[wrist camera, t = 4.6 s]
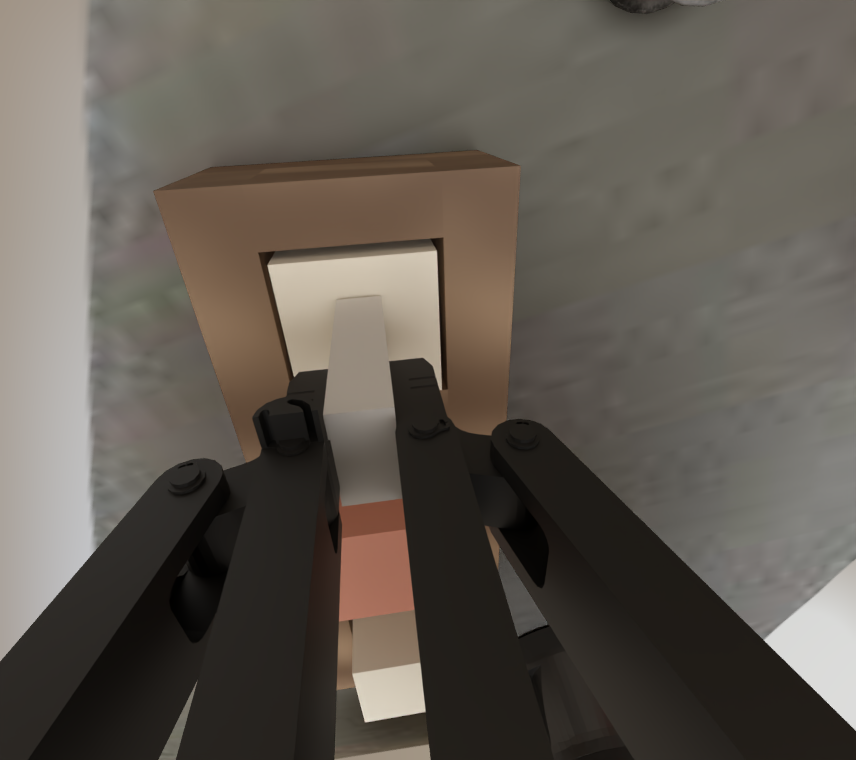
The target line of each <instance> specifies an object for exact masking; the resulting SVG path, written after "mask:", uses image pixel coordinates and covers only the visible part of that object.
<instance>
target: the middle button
mask: <svg viewBox="0 0 856 760" xmlns="http://www.w3.org/2000/svg"><path fill="white" fill-rule="evenodd" d="M339 512H340V516H341V521H342V545H341V575H340V605H339V621H346V620H352V619H359V618H365V617H372V616H378V615H385V614H391V613H398V612H404V611H411V610H414V601H413V592H412V583H411V574H410V564H409V555H408V546H407V537H406V528H405V518H404V509H403V500H402V499H395V500H388V501H380V502H373V503H365V504H357V505H350V506H342V503H341V499H340V498H339Z"/></svg>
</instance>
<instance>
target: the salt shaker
mask: <svg viewBox="0 0 856 760" xmlns="http://www.w3.org/2000/svg"><path fill="white" fill-rule="evenodd" d="M610 1H611V2H612V3H613V4H614V5H615V6H617V7H619V8H621V9H623V10H626V11H628V12H630V13H651V12H654V11H657V10H661V9H664V8H667V7H668V6H670V5H672V4H673V3H678V4H680V5H682V6H707V5H710V4H714V3H717V2H720V1H724V0H610Z"/></svg>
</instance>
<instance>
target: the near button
mask: <svg viewBox="0 0 856 760" xmlns="http://www.w3.org/2000/svg"><path fill="white" fill-rule="evenodd" d="M267 266H268V270H269V274H270V278H271V282H272V287H273V291H274V295H275V299H276V303H277V308H278V312H279V316H280V320H281V324H282V329H283V333H284V337H285V341H286V346H287V350H288V354H289V358H290V362H291V367H292V371H293V375H294V377H295V376H296V375H297V374H298V373H299V372H303V371H313V370H322V369H328V366H329V357H330V348H331V340H332V331H333V322H334V313H335V304H336V300H340V299H351V298H362V297H372V296H381V300H382V308H383V316H384V325H385V333H386V341H387V349H388V358H389V361H396V360H405V359H415V358H424V359H425V360H426V361H428V362H429V363H430V364H431V365H432V366H433V369H434V372H435V376H436V379H437V383H438V386H439V390H442V378H441V350H440V323H439V295H438V267H437V250H436V248H435V246H434V245H433V243H432V241H431V239H417V240H405V241H393V242H381V243H368V244H356V245H344V246H332V247H319V248H307V249H295V250H283V251H275V253H274V254H273V256H272V258H271V260H270V261H269V263H268V265H267Z"/></svg>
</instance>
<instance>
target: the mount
mask: <svg viewBox="0 0 856 760" xmlns="http://www.w3.org/2000/svg"><path fill="white" fill-rule="evenodd" d="M520 169H521V166H520V165H517V164H514V163H511V162H509V161H506V160H503V159H500V158H498V157H495V156H492V155H489V154H487V153H484V152H481V151H479V150H472V151H456V152H441V153H425V154H410V155H395V156H379V157H364V158H348V159H333V160H317V161H302V162H286V163H271V164H255V165H240V166H225V167H210V168H208V169H205V170H203V171H201V172H198V173H196V174H193V175H191V176H188V177H186V178H184V179H181V180H179V181H176V182H174V183H171V184H169V185H167V186H164V187H162V188H159V189H157V190H154V191H153V192H154V195H155V198H156V201H157V204H158V207H159V209H160V212H161V215H162V218H163V221H164V224H165V227H166V230H167V233H168V236H169V239H170V242H171V244H172V247H173V250H174V253H175V256H176V259H177V262H178V265H179V268H180V271H181V274H182V276H183V279H184V282H185V285H186V288H187V291H188V294H189V297H190V300H191V303H192V306H193V309H194V311H195V314H196V317H197V320H198V323H199V326H200V329H201V332H202V335H203V338H204V341H205V344H206V346H207V349H208V352H209V355H210V358H211V361H212V364H213V367H214V370H215V373H216V376H217V378H218V381H219V384H220V387H221V390H222V393H223V396H224V399H225V402H226V405H227V408H228V411H229V413H230V416H231V419H232V422H233V425H234V428H235V431H236V434H237V437H238V440H239V443H240V446H241V448H242V451H243V454H244V457H245V460H246V463H247V462H250V461H252V460H254V459H256V458H257V457H259V456H260V453H261V449H262V448H261V445H260V442H259V439H258V436H257V432H256V429H255V426H254V423H253V420H252V417H253V415H254V414H255V412H256V411H257V410H258V409H259V408H260V407H262V406H263V405H264V404H266V403H268V402H271V401H273V400H275V399H278V398H283V397H286V395H287V389H288V385H289V382H290V381H291V380H292V379H293V378H294V375H293V371H292V367H291V362H290V358H289V354H288V350H287V346H286V341H285V337H284V333H283V329H282V324H281V320H280V316H279V312H278V308H277V303H276V299H275V295H274V291H273V287H272V282H271V278H270V274H269V270H268V266H267V265H268V263H269V261H270V260H271V258H272V256H273V254H274V253H275V251H283V250H295V249H307V248H319V247H332V246H344V245H356V244H368V243H381V242H393V241H405V240H417V239H431V241H432V243H433V245H434V246H435V248H436V250H437V267H438V295H439V323H440V350H441V378H442V390H440V393H441V397H442V400H443V404H444V407H445V411H446V414H447V417H448V418H450V419H451V420H452V422H453V423H454V425H455V427H457V428H459V429H460V430H463V431H466V432H469V433H474V434H481V435H491V434H492V431H493V429H494V428H495V427H496V426H497V425H498V424H501V423H503V422H505V421H506V419H507V401H508V383H509V365H510V348H511V330H512V312H513V294H514V276H515V259H516V241H517V223H518V205H519V187H520ZM485 529H486V532H487V535H488V539H489V542H490V546H491V549H492V552H493V556H494V559H495V562H496V566H497V569H498V562H499V544H498V543H497V541H496V540H495V538H494V537H493V535H492V533H491V531H490V529H489V526H485ZM352 647H353V619H352V620H346V621H339V634H338V664H337V690H340V689H346V688H352V687H356V686H355V682H354V679H353V675H352Z"/></svg>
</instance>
